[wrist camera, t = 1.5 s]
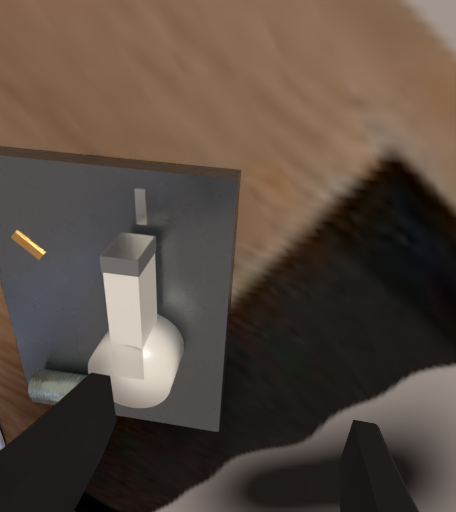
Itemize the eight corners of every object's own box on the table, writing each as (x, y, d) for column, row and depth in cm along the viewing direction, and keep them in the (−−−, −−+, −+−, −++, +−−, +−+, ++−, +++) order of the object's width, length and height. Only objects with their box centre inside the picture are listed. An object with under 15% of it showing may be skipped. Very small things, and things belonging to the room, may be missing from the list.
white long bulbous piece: (184, 375, 23) (171, 414, 21) (113, 364, 24) (92, 402, 21) (185, 236, 19) (169, 264, 16) (98, 226, 19) (69, 252, 17)
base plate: (222, 413, 27) (213, 457, 24) (43, 384, 28) (15, 423, 25) (241, 170, 19) (232, 192, 16) (-12, 145, 20) (-64, 161, 17)
